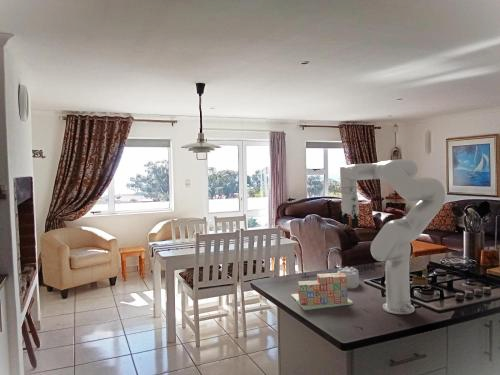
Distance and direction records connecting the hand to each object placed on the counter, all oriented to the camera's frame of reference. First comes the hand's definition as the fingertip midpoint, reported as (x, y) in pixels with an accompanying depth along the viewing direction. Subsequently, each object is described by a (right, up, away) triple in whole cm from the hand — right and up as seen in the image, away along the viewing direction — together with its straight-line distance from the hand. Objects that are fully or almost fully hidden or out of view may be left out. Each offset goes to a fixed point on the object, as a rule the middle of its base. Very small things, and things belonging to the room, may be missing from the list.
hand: (350, 225), depth 183 cm
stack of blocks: (-16, -34, -12) cm, 39 cm away
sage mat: (-15, -35, -11) cm, 39 cm away
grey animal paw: (+3, -33, +16) cm, 37 cm away
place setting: (+40, -32, +7) cm, 52 cm away
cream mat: (-17, -34, -1) cm, 38 cm away
